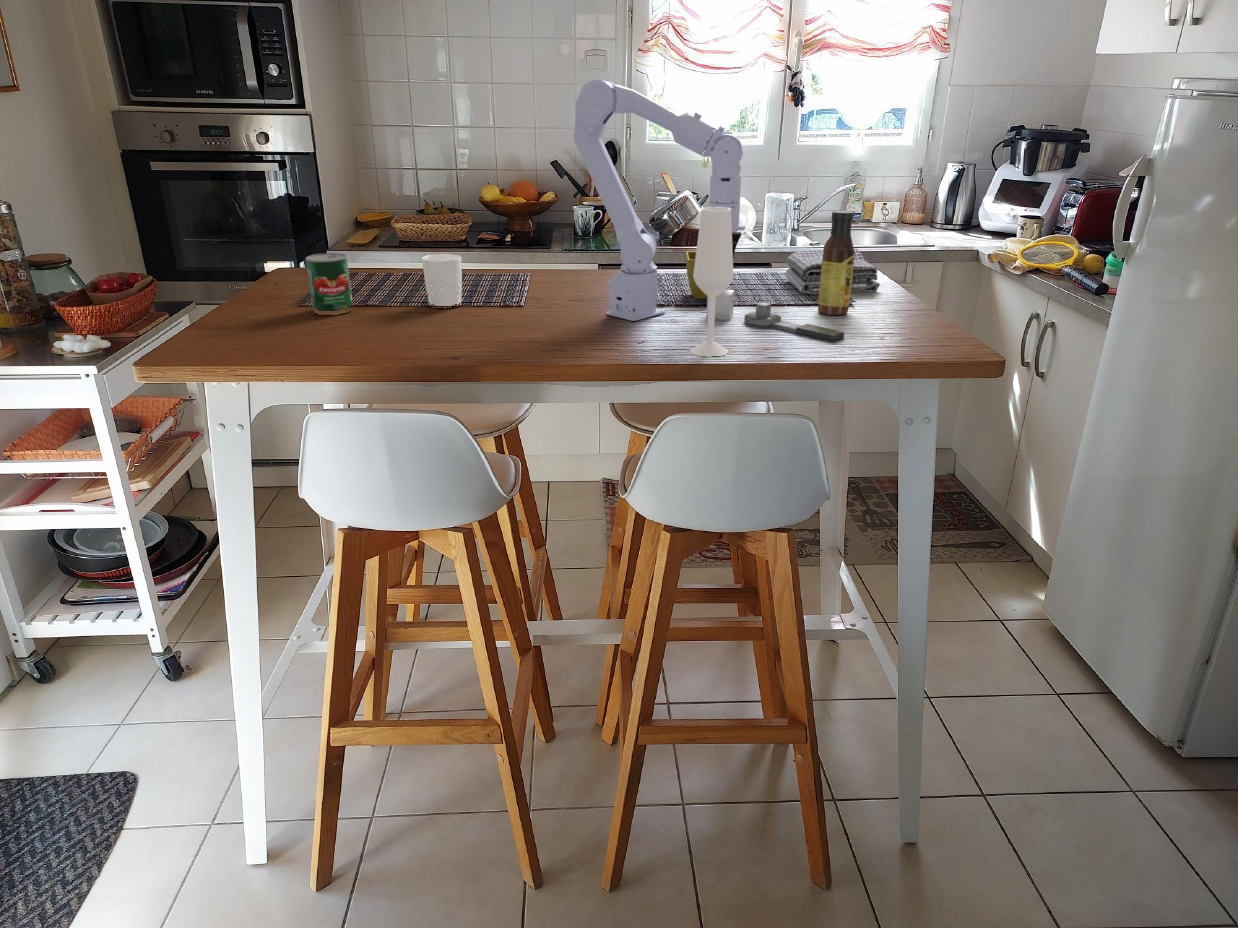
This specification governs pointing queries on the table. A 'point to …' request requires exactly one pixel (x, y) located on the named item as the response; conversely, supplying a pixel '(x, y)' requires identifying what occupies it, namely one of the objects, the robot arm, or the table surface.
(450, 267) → the white cup
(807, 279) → the towel
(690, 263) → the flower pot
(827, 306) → the sauce bottle
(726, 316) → the white sugar cube
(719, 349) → the champagne flute
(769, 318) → the ratchet
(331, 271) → the canned tomato
